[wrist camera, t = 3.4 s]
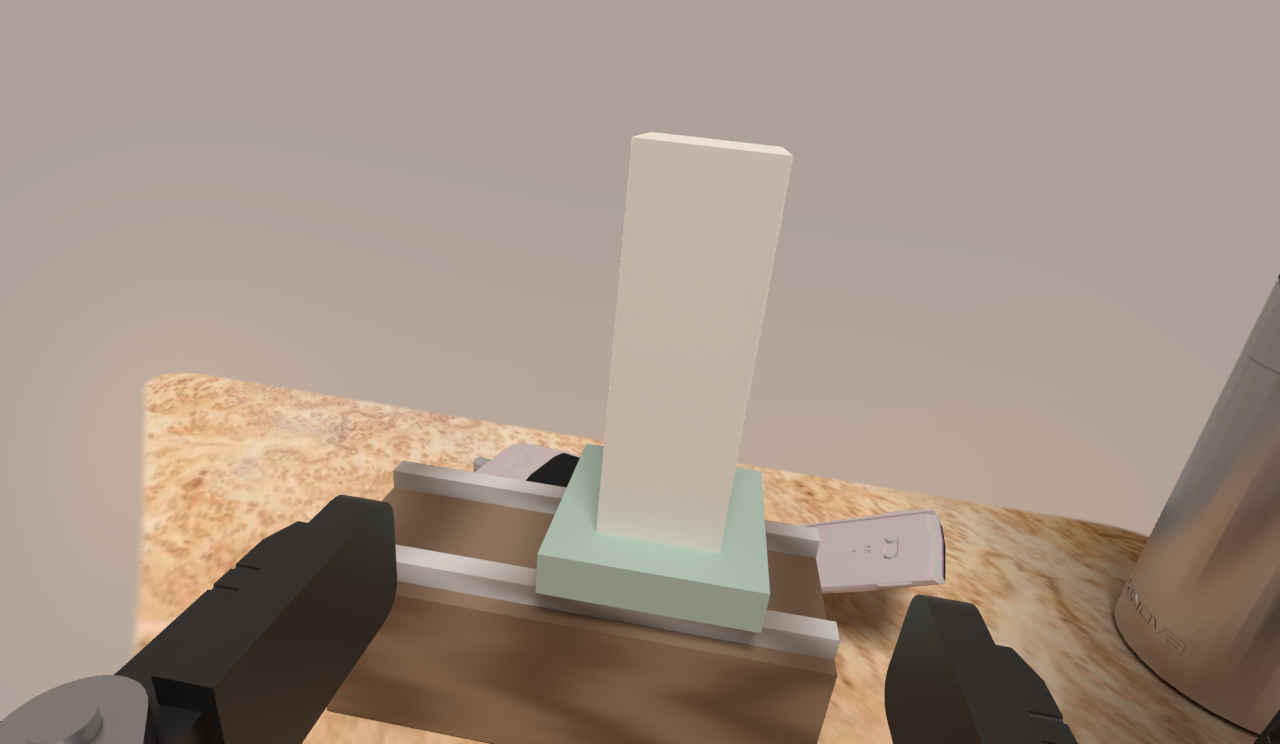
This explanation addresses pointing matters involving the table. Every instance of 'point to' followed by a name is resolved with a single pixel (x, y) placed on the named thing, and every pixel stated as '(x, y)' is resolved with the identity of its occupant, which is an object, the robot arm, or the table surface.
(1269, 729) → the portable radio
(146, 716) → the robot arm
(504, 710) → the walnut track
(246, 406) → the table surface
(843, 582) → the mobile phone
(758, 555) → the white pillar on base
